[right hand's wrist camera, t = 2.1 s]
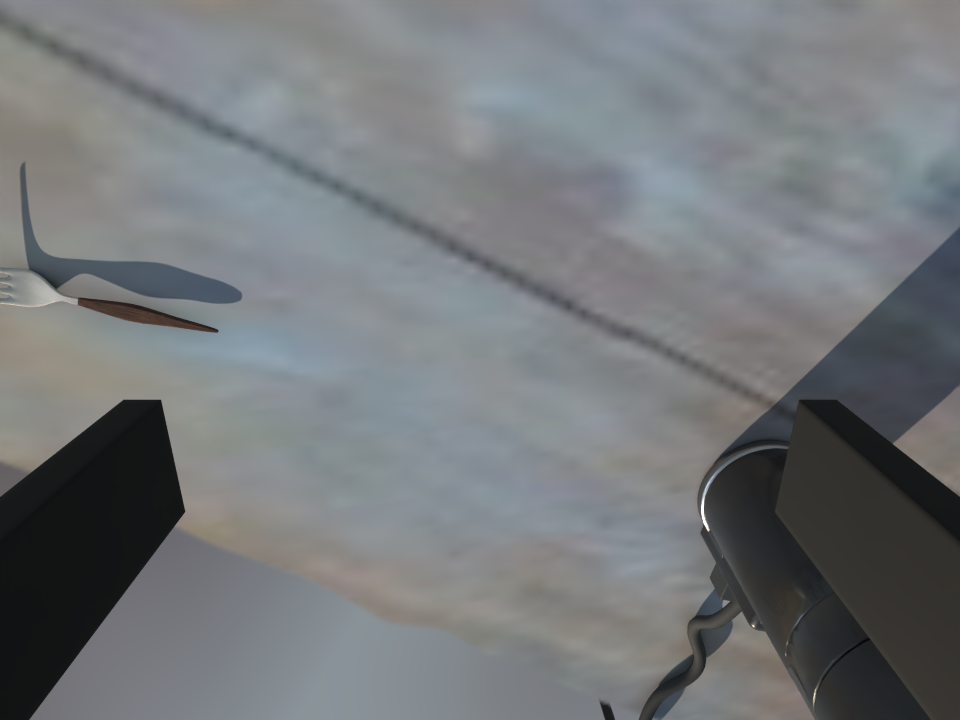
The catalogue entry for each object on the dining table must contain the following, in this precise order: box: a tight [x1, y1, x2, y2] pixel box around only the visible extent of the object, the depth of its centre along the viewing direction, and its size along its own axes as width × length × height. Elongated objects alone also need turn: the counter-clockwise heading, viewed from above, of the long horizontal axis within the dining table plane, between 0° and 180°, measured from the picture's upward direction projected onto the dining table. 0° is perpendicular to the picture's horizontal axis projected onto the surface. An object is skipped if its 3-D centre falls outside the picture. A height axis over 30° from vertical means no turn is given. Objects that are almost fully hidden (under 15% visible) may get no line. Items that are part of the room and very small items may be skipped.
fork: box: [0, 268, 218, 333], centre depth 39 cm, size 3×16×2 cm, turn 77°
